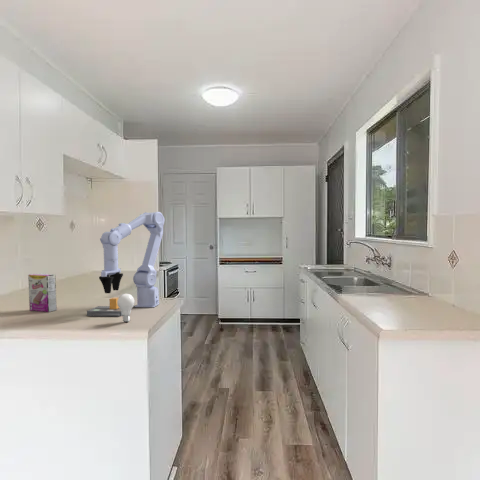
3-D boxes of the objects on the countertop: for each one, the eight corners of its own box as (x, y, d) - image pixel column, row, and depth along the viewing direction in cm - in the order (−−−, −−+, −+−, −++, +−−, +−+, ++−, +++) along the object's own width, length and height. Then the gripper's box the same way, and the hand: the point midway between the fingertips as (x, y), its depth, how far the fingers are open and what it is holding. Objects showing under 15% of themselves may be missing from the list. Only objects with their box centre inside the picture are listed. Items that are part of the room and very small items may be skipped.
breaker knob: (120, 307, 167) (119, 297, 167) (116, 309, 164) (116, 298, 163) (113, 307, 167) (113, 297, 167) (109, 309, 164) (109, 298, 164)
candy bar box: (28, 311, 173) (27, 274, 173) (37, 309, 178) (36, 273, 177) (48, 312, 170) (47, 275, 169) (57, 310, 174) (56, 273, 174)
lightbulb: (119, 320, 152) (119, 292, 152) (136, 319, 153) (135, 292, 152) (116, 324, 146) (115, 295, 146) (133, 323, 146) (132, 294, 146)
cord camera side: (119, 316, 160) (119, 313, 160) (118, 317, 159) (118, 314, 158) (90, 316, 161) (90, 313, 161) (89, 316, 160) (89, 313, 160)
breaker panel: (130, 310, 170) (130, 306, 170) (121, 316, 160) (121, 311, 160) (98, 310, 172) (98, 305, 172) (86, 315, 162) (86, 310, 162)
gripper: (109, 258, 173) (110, 289, 173) (93, 261, 158) (94, 294, 159) (124, 258, 172) (125, 289, 172) (110, 261, 157) (111, 294, 158)
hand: (111, 291), depth 165 cm, fingers open, 7 cm apart
